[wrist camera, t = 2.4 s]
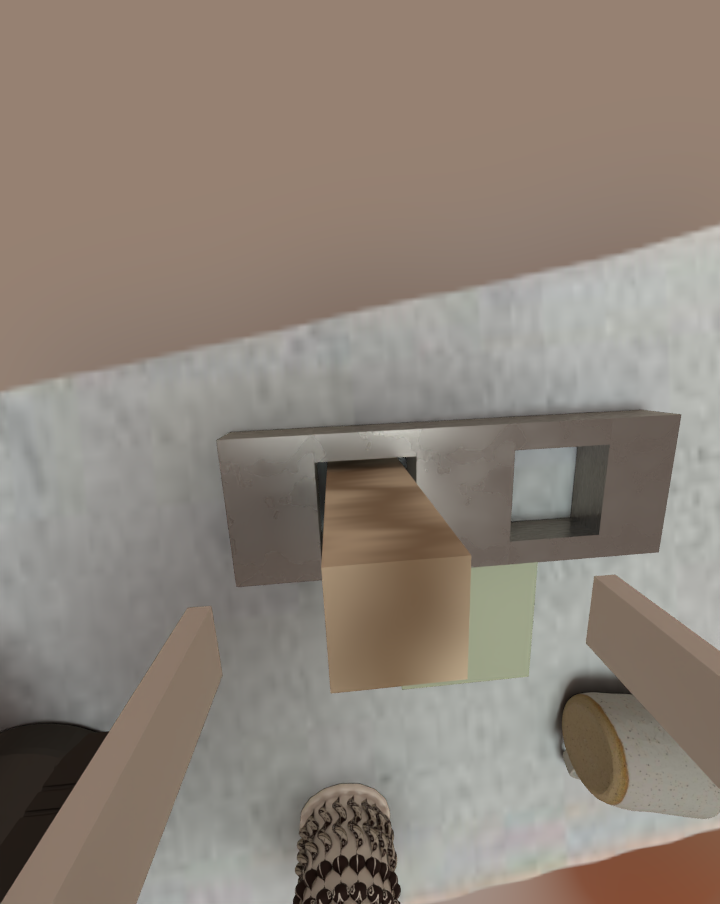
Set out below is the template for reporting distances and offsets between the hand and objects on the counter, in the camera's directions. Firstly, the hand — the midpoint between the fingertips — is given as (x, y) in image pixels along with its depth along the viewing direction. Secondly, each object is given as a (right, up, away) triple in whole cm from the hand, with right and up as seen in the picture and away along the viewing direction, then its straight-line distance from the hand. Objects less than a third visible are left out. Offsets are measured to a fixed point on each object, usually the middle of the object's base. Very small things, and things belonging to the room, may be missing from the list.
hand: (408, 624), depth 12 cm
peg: (-1, +3, +14) cm, 14 cm away
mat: (+7, -8, +17) cm, 20 cm away
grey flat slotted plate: (+5, +3, +14) cm, 15 cm away
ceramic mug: (+20, -19, +21) cm, 35 cm away
